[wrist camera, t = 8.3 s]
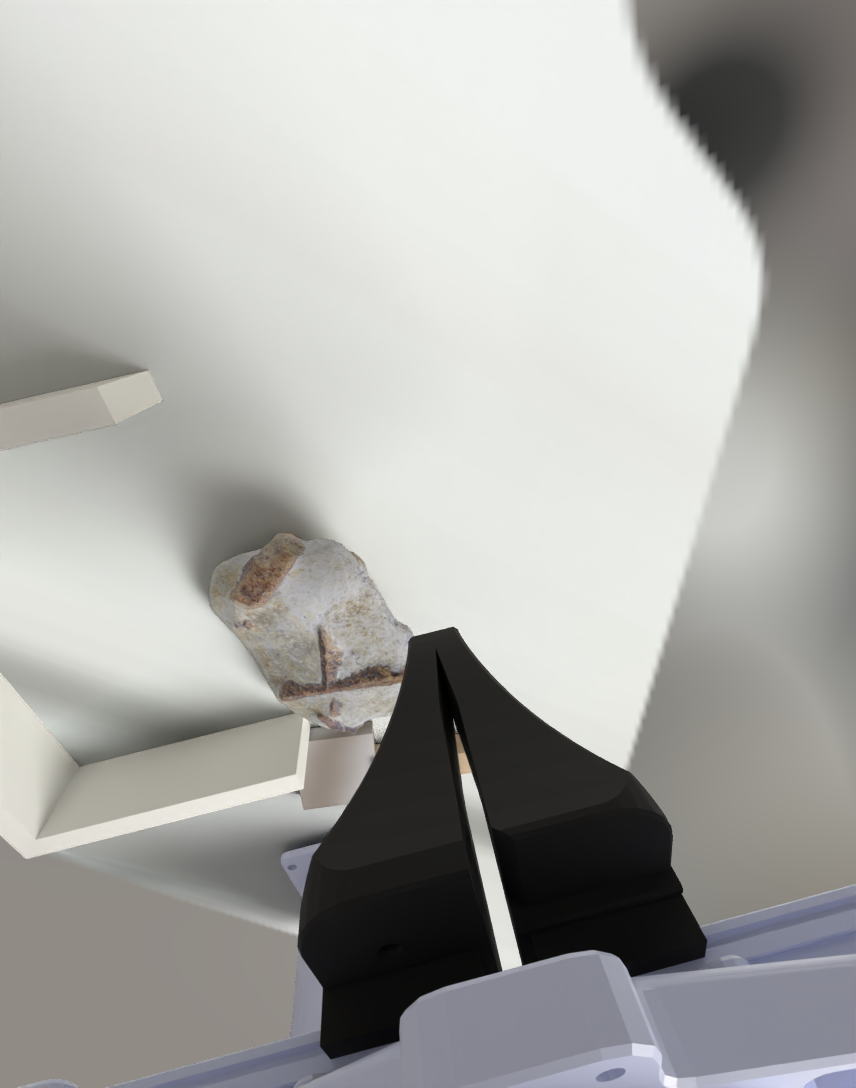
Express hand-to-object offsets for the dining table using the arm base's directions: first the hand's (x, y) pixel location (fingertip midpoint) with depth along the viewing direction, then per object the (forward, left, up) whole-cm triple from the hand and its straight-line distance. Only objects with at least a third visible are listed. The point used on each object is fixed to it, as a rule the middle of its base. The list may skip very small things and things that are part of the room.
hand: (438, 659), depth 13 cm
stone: (+1, +2, -7) cm, 7 cm away
